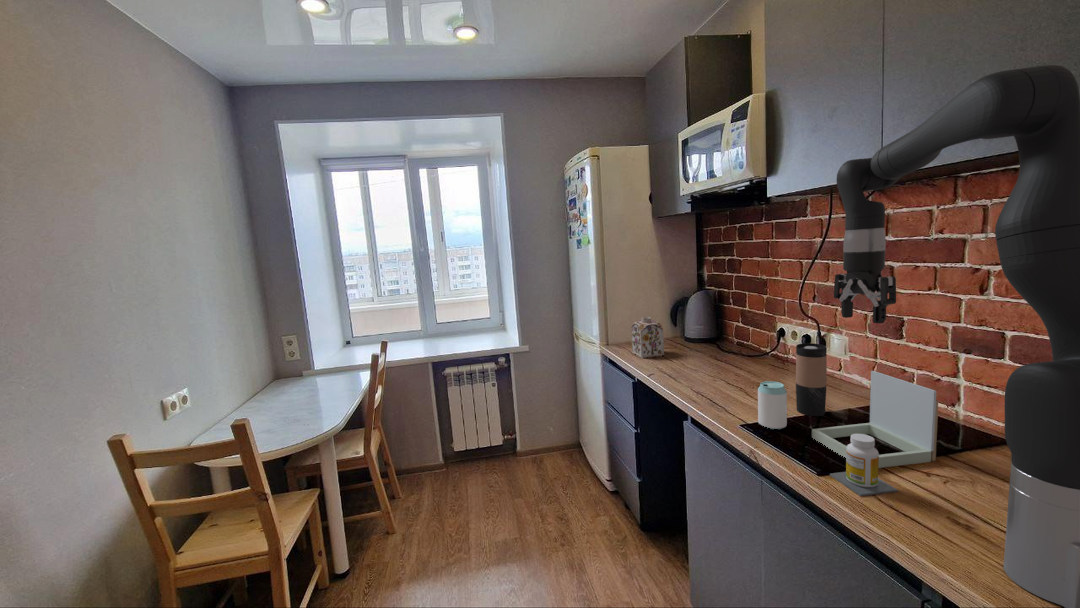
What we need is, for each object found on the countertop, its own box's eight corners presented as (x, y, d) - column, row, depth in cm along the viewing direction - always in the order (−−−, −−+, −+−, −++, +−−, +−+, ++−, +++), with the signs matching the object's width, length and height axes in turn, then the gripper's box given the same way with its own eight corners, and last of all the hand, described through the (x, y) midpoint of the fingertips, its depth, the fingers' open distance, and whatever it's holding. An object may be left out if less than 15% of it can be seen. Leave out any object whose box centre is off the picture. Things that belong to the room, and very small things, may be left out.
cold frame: (936, 461, 94) (939, 390, 92) (864, 469, 93) (865, 398, 91) (874, 431, 110) (876, 370, 108) (811, 438, 109) (812, 376, 107)
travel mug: (828, 409, 125) (828, 344, 123) (823, 418, 120) (824, 350, 117) (798, 405, 131) (798, 342, 128) (793, 413, 125) (793, 347, 122)
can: (775, 432, 113) (775, 390, 112) (752, 424, 120) (752, 383, 118) (792, 426, 116) (792, 384, 115) (769, 418, 123) (768, 378, 121)
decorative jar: (631, 353, 208) (630, 317, 205) (653, 350, 210) (652, 314, 207) (641, 358, 196) (640, 320, 194) (665, 355, 198) (663, 318, 196)
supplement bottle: (870, 475, 90) (871, 432, 89) (883, 489, 85) (884, 444, 84) (841, 473, 92) (842, 431, 90) (851, 487, 87) (852, 442, 85)
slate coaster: (897, 491, 85) (897, 489, 85) (860, 496, 84) (860, 494, 84) (863, 471, 93) (863, 469, 93) (829, 475, 92) (829, 473, 92)
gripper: (909, 248, 88) (906, 323, 90) (853, 248, 102) (852, 314, 104) (876, 250, 88) (873, 326, 90) (824, 250, 102) (823, 316, 104)
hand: (862, 320), depth 97 cm, fingers open, 8 cm apart
